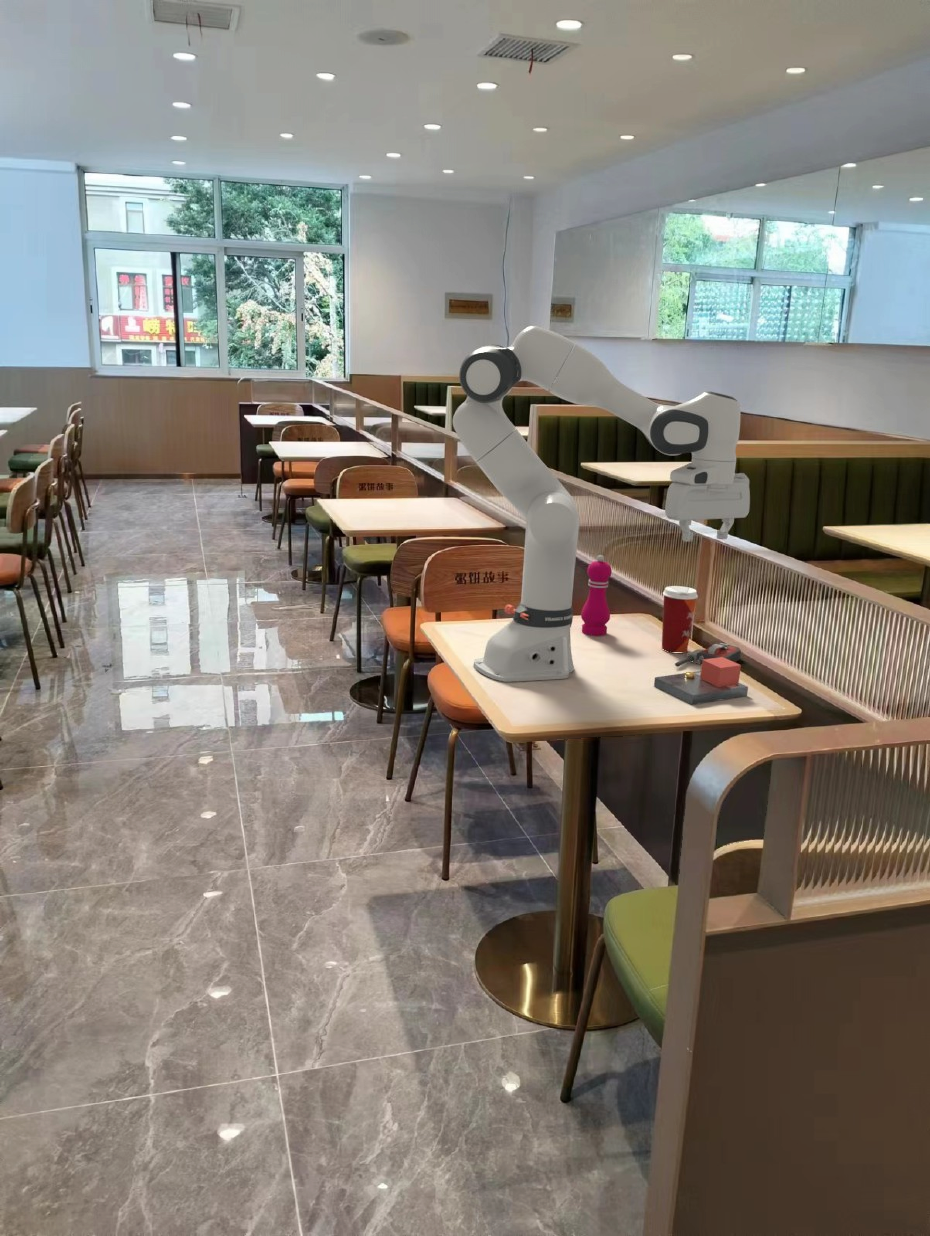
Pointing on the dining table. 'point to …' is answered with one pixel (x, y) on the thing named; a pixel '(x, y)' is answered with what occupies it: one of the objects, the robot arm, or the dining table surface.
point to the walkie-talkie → (712, 654)
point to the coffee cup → (677, 617)
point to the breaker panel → (697, 688)
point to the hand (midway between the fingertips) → (704, 540)
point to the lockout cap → (720, 671)
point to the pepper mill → (597, 599)
